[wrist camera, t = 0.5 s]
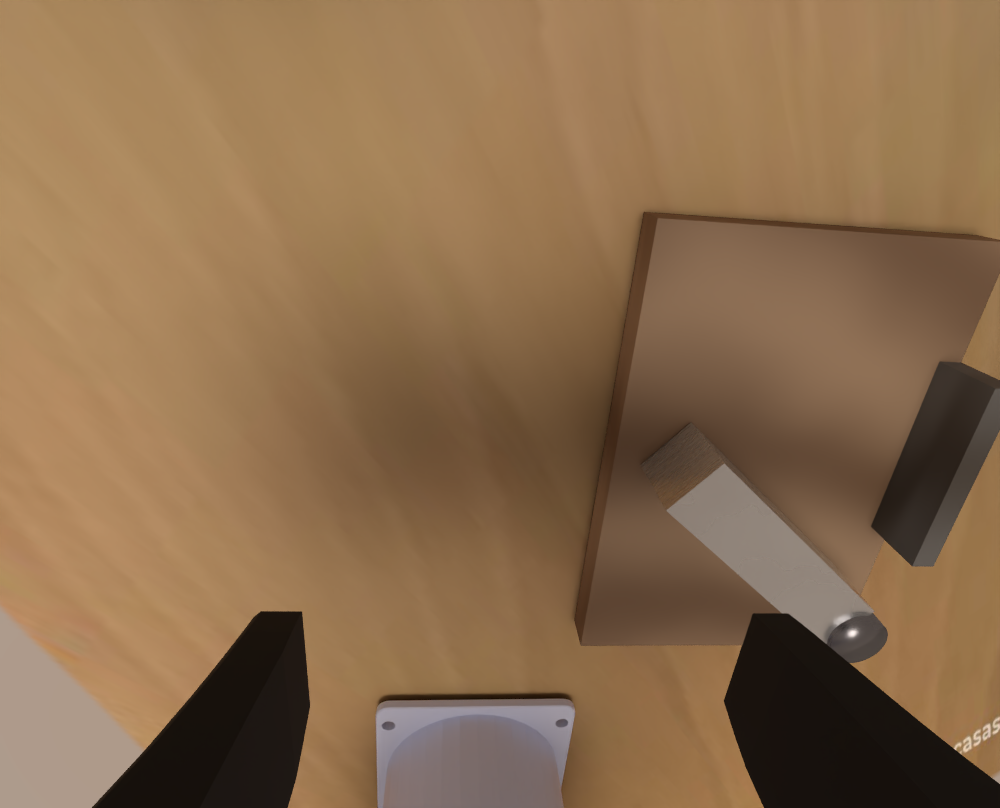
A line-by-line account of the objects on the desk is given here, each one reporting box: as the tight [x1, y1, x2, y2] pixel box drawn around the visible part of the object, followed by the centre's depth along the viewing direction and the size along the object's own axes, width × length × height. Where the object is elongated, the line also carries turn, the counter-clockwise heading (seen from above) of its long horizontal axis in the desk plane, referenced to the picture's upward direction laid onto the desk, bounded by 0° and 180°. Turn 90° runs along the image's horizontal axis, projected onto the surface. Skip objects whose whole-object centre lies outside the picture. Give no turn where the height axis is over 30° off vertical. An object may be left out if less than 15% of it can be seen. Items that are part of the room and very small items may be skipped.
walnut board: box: [575, 212, 1000, 646], centre depth 18 cm, size 15×10×3 cm, turn 176°
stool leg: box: [641, 423, 888, 663], centre depth 18 cm, size 9×2×3 cm, turn 46°
